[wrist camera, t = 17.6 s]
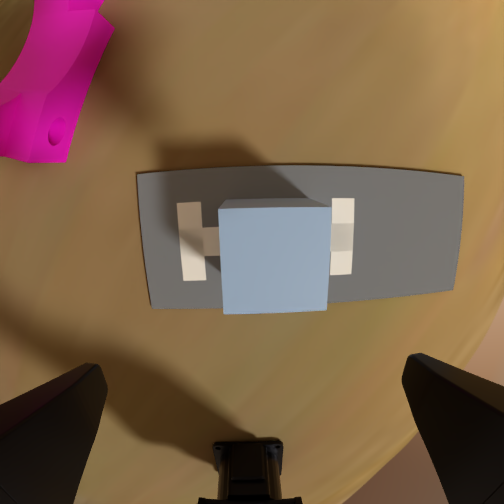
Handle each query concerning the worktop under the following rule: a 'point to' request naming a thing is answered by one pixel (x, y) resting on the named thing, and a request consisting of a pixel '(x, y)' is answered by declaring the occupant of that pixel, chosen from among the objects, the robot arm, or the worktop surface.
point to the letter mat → (342, 228)
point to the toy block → (51, 79)
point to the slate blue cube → (274, 255)
